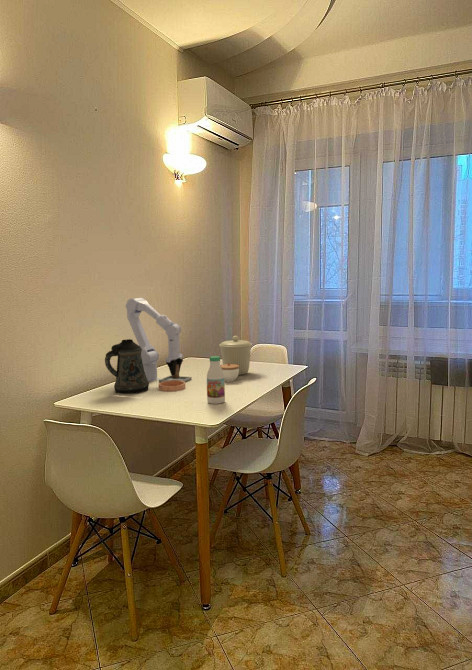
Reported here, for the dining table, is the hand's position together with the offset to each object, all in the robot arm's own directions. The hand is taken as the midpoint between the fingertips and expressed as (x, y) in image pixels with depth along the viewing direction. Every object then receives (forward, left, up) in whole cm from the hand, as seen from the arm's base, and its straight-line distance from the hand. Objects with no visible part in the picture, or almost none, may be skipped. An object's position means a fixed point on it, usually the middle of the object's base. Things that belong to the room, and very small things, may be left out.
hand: (175, 373), depth 267 cm
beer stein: (-11, -25, -5) cm, 28 cm away
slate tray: (0, 0, -4) cm, 4 cm away
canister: (+22, +29, -5) cm, 37 cm away
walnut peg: (0, 0, -2) cm, 2 cm away
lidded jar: (+25, +12, -5) cm, 28 cm away
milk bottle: (+37, -30, -5) cm, 48 cm away
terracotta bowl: (+6, -14, -4) cm, 16 cm away
